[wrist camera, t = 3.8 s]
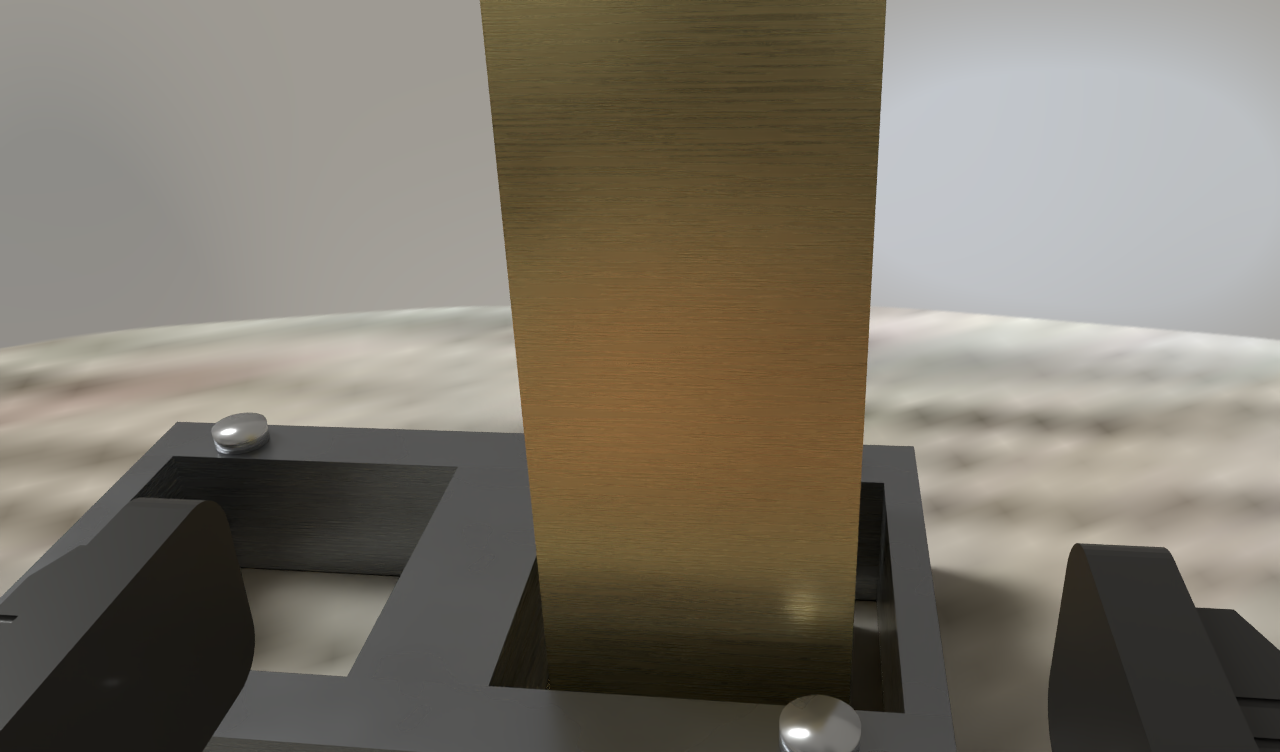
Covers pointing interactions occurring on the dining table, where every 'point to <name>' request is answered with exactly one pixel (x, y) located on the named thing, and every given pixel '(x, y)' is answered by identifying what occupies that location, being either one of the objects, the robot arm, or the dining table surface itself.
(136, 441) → the dining table surface
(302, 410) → the dining table surface
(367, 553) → the grey tray with studs
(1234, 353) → the dining table surface
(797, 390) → the tan tall block
